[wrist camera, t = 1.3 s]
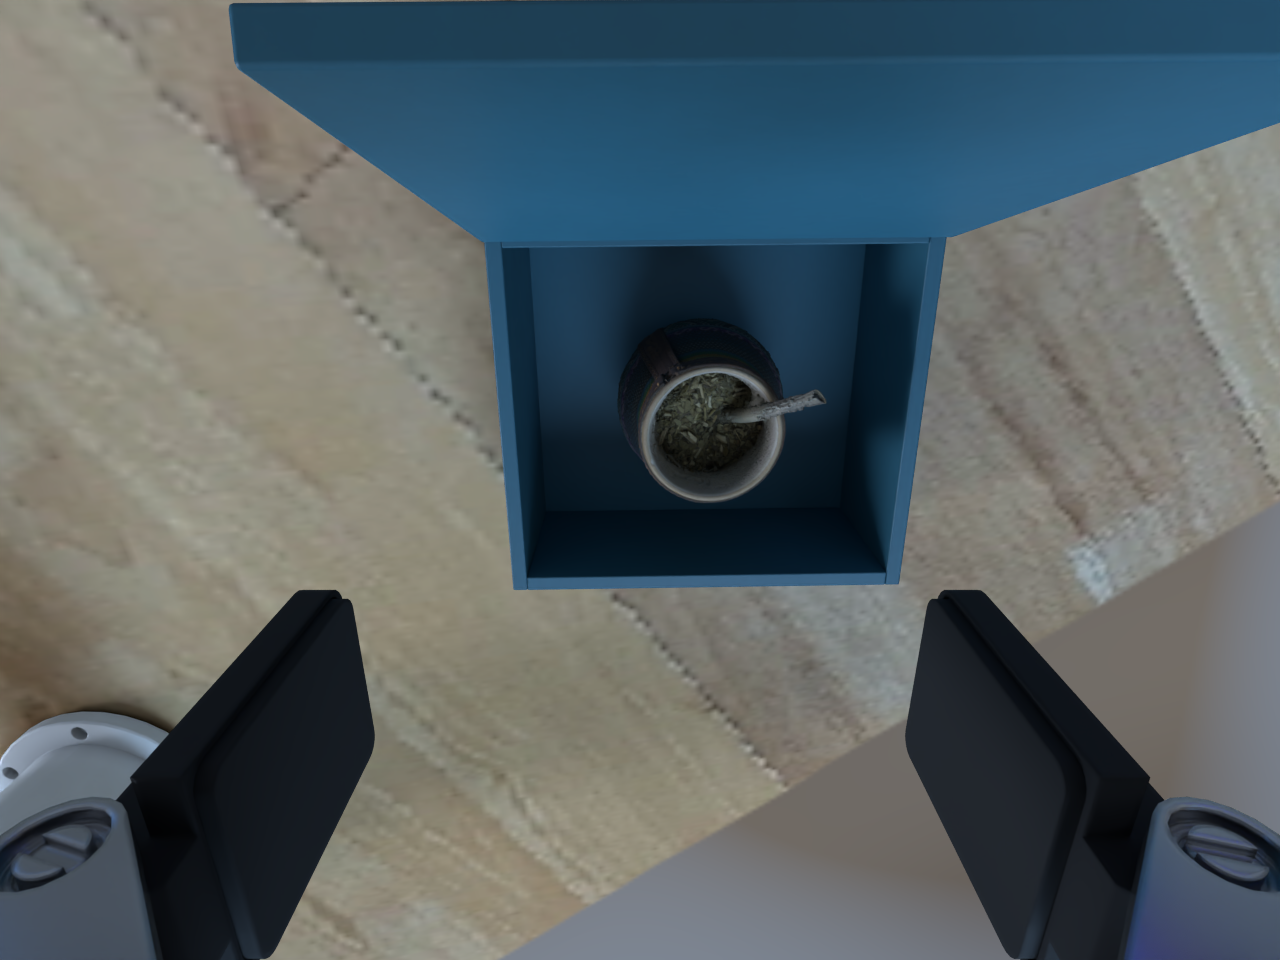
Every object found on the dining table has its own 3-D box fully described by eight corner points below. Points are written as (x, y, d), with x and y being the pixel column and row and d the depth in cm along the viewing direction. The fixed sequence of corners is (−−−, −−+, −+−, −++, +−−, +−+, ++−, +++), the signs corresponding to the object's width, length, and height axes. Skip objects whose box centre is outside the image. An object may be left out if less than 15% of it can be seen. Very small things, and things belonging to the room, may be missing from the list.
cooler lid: (1474, 57, 9) (1570, -450, 8) (231, 68, 9) (174, -446, 8) (953, 237, 24) (965, 65, 23) (480, 242, 24) (472, 69, 23)
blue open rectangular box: (846, 512, 36) (899, 584, 29) (536, 517, 36) (513, 590, 29) (876, 223, 31) (949, 224, 24) (516, 227, 31) (482, 229, 24)
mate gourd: (585, 378, 33) (567, 443, 24) (709, 269, 31) (742, 292, 22) (682, 485, 35) (701, 583, 26) (804, 388, 33) (871, 455, 24)
